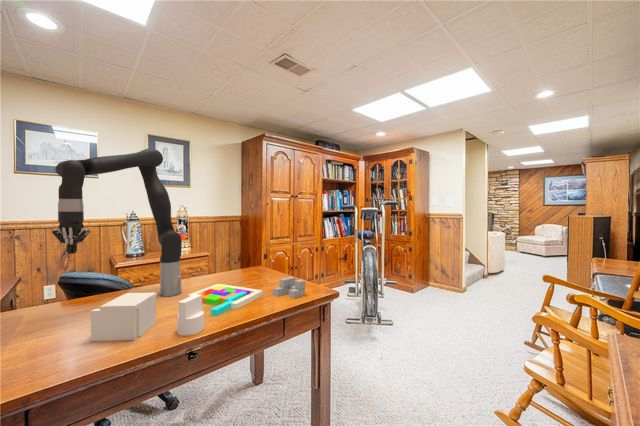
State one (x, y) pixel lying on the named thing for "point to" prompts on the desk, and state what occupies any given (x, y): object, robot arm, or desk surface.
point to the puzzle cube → (290, 287)
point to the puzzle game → (227, 297)
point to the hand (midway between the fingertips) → (71, 253)
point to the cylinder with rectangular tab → (190, 316)
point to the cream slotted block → (124, 317)
